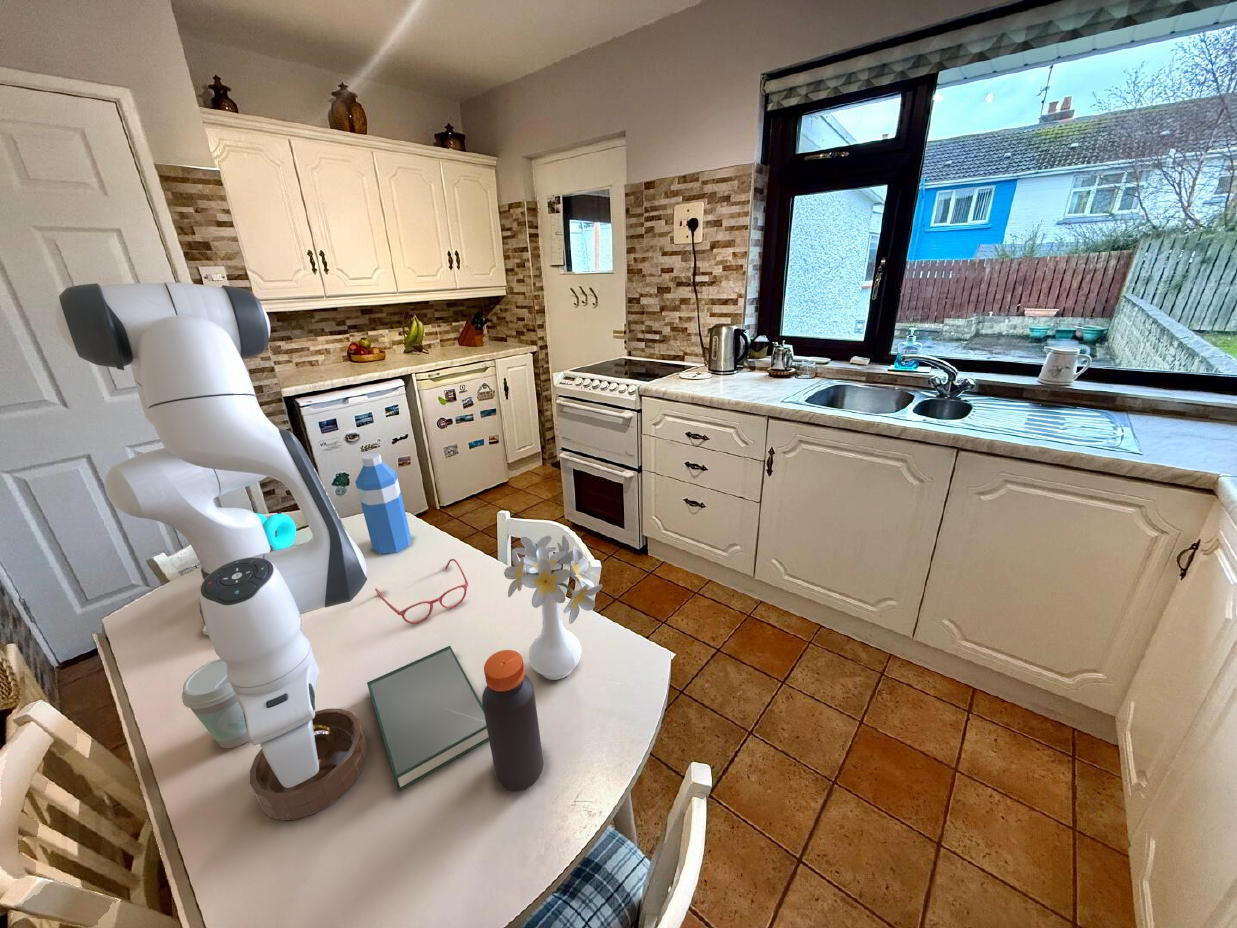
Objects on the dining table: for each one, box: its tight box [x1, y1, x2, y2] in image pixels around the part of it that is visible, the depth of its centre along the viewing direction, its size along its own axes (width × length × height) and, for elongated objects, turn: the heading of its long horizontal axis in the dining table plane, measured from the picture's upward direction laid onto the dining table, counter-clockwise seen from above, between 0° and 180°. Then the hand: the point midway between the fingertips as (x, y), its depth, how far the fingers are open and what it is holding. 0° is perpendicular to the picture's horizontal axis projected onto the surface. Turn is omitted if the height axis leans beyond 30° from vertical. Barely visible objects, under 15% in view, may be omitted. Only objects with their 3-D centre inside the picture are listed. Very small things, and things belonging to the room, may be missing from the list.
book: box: [366, 645, 489, 792], centre depth 78 cm, size 20×14×3 cm
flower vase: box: [503, 535, 603, 681], centre depth 82 cm, size 13×18×25 cm
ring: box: [313, 725, 336, 767], centre depth 68 cm, size 7×3×8 cm, turn 118°
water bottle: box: [354, 452, 412, 555], centre depth 122 cm, size 9×9×25 cm
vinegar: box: [481, 649, 544, 792], centre depth 66 cm, size 7×7×20 cm
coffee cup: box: [181, 657, 250, 749], centre depth 74 cm, size 8×8×12 cm
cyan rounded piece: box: [254, 512, 297, 551], centre depth 124 cm, size 10×10×10 cm
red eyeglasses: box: [374, 558, 469, 625], centre depth 105 cm, size 17×16×5 cm
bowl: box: [249, 708, 368, 821], centre depth 69 cm, size 13×13×5 cm
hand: (307, 749), depth 68 cm, fingers closed on ring, 2 cm apart
